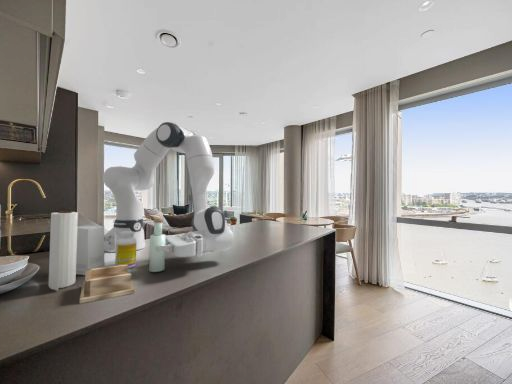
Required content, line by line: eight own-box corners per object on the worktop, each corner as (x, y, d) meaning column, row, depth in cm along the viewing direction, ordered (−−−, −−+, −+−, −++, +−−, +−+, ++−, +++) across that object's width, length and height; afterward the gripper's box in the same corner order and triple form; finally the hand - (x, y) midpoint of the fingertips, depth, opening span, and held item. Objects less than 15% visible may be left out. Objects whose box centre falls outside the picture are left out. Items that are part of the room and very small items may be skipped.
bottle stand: (129, 278, 73) (130, 263, 73) (134, 293, 64) (134, 274, 64) (82, 286, 67) (83, 269, 67) (79, 303, 57) (80, 283, 57)
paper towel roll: (62, 280, 71) (65, 210, 71) (80, 281, 70) (83, 211, 70) (38, 290, 63) (40, 212, 64) (58, 291, 63) (60, 213, 63)
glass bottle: (145, 270, 79) (147, 218, 79) (157, 266, 84) (159, 217, 84) (155, 272, 77) (157, 219, 77) (167, 268, 82) (169, 218, 82)
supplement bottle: (138, 267, 85) (139, 232, 85) (118, 271, 80) (119, 234, 80) (132, 263, 89) (133, 230, 90) (112, 266, 85) (114, 231, 85)
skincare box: (104, 270, 80) (106, 225, 80) (86, 276, 74) (87, 228, 74) (86, 267, 83) (87, 224, 83) (67, 273, 76) (68, 226, 76)
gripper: (185, 230, 96) (149, 232, 89) (203, 239, 79) (161, 243, 72) (185, 245, 96) (149, 249, 89) (203, 257, 79) (160, 263, 72)
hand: (154, 246), depth 80 cm, fingers closed on glass bottle, 5 cm apart
